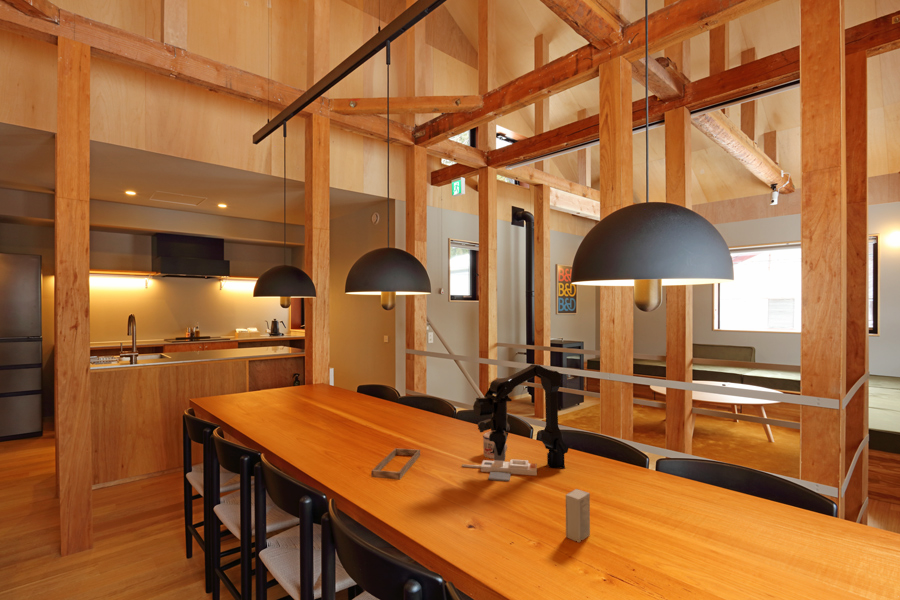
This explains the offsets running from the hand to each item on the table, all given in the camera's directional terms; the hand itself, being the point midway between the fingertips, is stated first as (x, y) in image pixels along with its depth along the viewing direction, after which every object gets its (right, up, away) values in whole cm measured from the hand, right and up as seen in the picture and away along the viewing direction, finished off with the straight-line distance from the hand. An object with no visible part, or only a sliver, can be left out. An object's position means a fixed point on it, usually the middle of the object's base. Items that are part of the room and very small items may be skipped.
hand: (499, 453), depth 171 cm
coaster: (0, -9, 0) cm, 9 cm away
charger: (0, -2, 0) cm, 2 cm away
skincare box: (+17, -8, -46) cm, 49 cm away
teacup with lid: (+1, -10, +24) cm, 26 cm away
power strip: (0, -9, +8) cm, 12 cm away
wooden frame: (-41, -9, +12) cm, 44 cm away
